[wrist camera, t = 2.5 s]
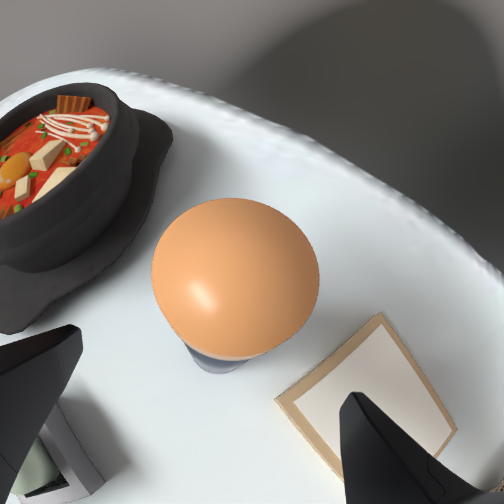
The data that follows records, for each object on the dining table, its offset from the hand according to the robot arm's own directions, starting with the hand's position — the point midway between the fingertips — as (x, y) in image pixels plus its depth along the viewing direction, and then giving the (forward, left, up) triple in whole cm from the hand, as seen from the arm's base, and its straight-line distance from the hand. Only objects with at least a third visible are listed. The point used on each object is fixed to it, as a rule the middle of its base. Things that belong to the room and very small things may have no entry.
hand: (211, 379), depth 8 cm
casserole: (+19, +4, -10) cm, 22 cm away
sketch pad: (-10, -8, -10) cm, 16 cm away
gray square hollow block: (+1, +14, -10) cm, 17 cm away
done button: (+1, +14, -8) cm, 17 cm away
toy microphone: (+2, -2, -10) cm, 10 cm away
